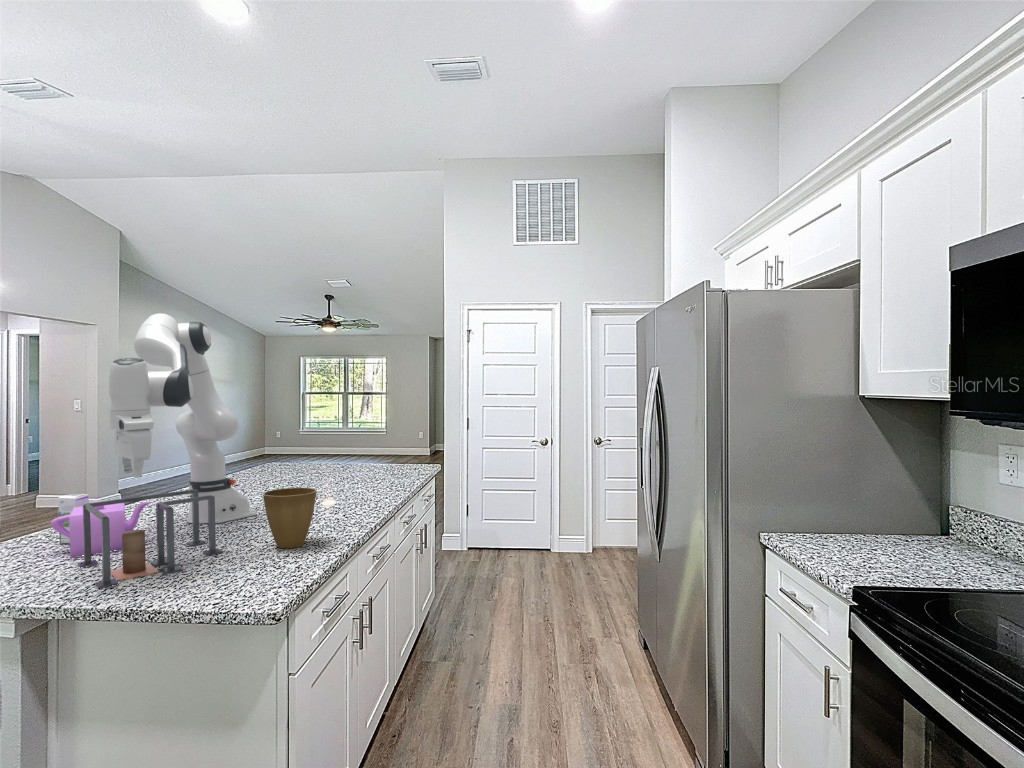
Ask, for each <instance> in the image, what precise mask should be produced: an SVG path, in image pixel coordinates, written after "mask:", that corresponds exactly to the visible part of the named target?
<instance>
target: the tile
mask: <svg viewBox="0 0 1024 768" xmlns="http://www.w3.org/2000/svg"><path fill="white" fill-rule="evenodd" d="M110 570H111V574H112V575H113V576H114V577H115V578H116V579H117V580H118V582H120V581H119V580H122V581H125V580H124V579H127V580H130V579H129V578H131V579H134V578H133V577H136V578H139V577H138V576H141V577H144V575H145V576H149V575H150V576H151V575H153V574H154V573H155V574H159V573H160V570H159V569H158V568H157V567H154V566H153V565H151V563H149V562H146V569H145V570H144V571H142V572H139V573H134V574H124V573H123V567H122V568H117V569H110ZM112 575H111V576H112ZM113 576H112V577H113ZM114 577H113V578H114ZM115 578H114V579H115Z"/></svg>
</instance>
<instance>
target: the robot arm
mask: <svg viewBox="0 0 1024 768" xmlns="http://www.w3.org/2000/svg"><path fill="white" fill-rule="evenodd" d="M133 342H134V345H133V348H134V351H135V353H136V355H137V356H138V357H125V358H117V359H114V360H113V361H112V362H111V364H110V368H109V376H108V393H109V394H108V395H109V397H110V407H109V425H110V426H109V429H110V430H114V453H115V455H117V456H118V457H120V460H121V464H122V471H123V473H124V474H126V475H127V474H132V477H134V478H141V477H142V476H143V467H144V463H145V462H144V461H145V460H146V461H147V460H149V459H150V457H151V454H152V436H153V435H152V429H154V427H155V425H154V424H155V423H154V420H153V419H152V414H151V408H152V407H153V408H154V407H172V408H178V407H179V408H183V406H185V405H186V404H187V406H188V407H189V408H190V409H191V410H187V411H184V412H183V413H181V414H179V416H178V417H177V419H176V421H175V429H176V431H177V433H178V434H179V436H180V437H182V439H183V441H184V444H185V446H186V451H187V452H188V457H189V465H190V480H189V485H188V490H193V489H195V490H198V496H199V497H201V496H208V495H212V496H215V524H221V523H225V522H231V521H236V520H238V519H239V520H240V519H243V518H249V517H252V516H253V517H254V516H257V511H256V509H255V508H251V507H250V503H249V499H248V497H247V496H246V495H244V494H242V493H241V492H239V491H237V490H236V489H234V488H233V487H232V486H235V485H236V483H237V480H236V479H233V478H228V477H226V456H225V455H224V453H223V451H221V450H220V449H219V448H220V447H219V445H218V443H217V442H220V441H226V440H228V439H229V440H230V439H231V438H233V437H235V436H236V434H237V433H238V431H239V427H240V423H239V419H238V417H237V416H236V415H235V414H234V413H233V412H231V410H229V409H228V407H227V406H226V405H225V403H224V402H223V401H222V399H221V397H220V396H219V394H218V391H217V390H216V388H215V385H214V382H213V378H212V375H211V371H210V368H209V365H208V362H207V359H206V357H205V353H206V352H207V351H208V350H209V349H210V347H211V345H212V335H211V332H210V330H209V329H208V326H206V324H204V323H202V321H201V322H200V321H190V322H183V323H178V322H177V320H176V319H175V318H174V317H173V316H171V315H169V314H167V313H154V314H151V315H150V316H149V317H147V318H146V319H145V320H144V321H143V323H142V324H141V325H140V327H139V329H137V333H136V335H135V337H134V341H133ZM147 364H149V365H152V366H160V367H169V368H171V370H156V371H155V370H154V371H152V370H151V371H149V370H148V365H147ZM189 498H192V494H189ZM186 518H187V519H186V522H187V523H190V524H193V520H192V502H189V508H188V514H187V517H186ZM199 524H208V500H202V501H199Z"/></svg>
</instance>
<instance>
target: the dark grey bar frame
mask: <svg viewBox="0 0 1024 768" xmlns="http://www.w3.org/2000/svg"><path fill="white" fill-rule="evenodd" d="M190 494H192V498H191V497H188V498H181V499H180V498H179V499H174V500H168V501H167V500H166V501H159V502H157V503H155V514H156V516H155V517H156V552H157V555H156V556H157V558H156V560H153V561H150V564H151V565H152V566H153V567H155V568H157V566H158V567H162V566H166V567H163V568H159V572H160V573H162V574H163V575H169V574H174V573H178V572H179V573H180V572H182V571H183V568H182V567H181V566H179V565H176V562H175V561H176V560H175V558H176V557H175V556H176V554H175V520H174V519H175V518H174V517H175V516H174V512H175V511H174V508H173V507H172V506H173V505H180V504H189V503H190V502H192V520H193V523H192V540H191V541H186V545H187V546H189V547H192V546H193V547H197V546H202V545H206V543H207V542H206V541H205V540H203V539H200V523H199V501H202V500H208V523H207V525H208V526H207V527H208V528H207V529H208V550H203V551H202V554H203V555H204V556H206V557H211V556H215V555H216V556H217V555H221V554H223V550H222V549H220V548H217V540H216V537H217V535H216V534H217V532H216V523H215V496H212V495H208V496H201V497H199V496H198V490H195V489H193V490H189V489H188V490H178V491H171V492H163V493H157V494H156V493H155V494H149V495H147V494H146V495H142V496H141V495H139V496H135V497H126V498H118V499H111V500H110V499H109V500H103V501H102V502H94V501H93V502H94V503H91V502H89V503H87V504H84V505H83V538H84V556H83V561H80V562H76V563H77V564H76V566H77V567H78V568H79V567H80V568H79V569H82V568H81V567H85V568H87V567H86V566H90V567H92V566H91V565H95V566H98V565H99V562H98V561H97V560H96V559H92V555H91V525H90V512H91V513H92V514H93V515H95V516H96V517H97V518H99V519H100V520H101V536H102V554H101V566H102V567H101V568H102V570H101V571H102V574H101V575H102V581H101V580H100V581H95V583H94V586H95V585H96V586H97V587H98V588H101V589H103V588H102V587H106V588H108V587H107V586H110V587H113V586H112V585H115V586H118V585H119V581H117V580H116V579H115V578H111V576H112V575H111V570H112V569H111V552H110V529H109V518H108V516H106V515H105V514H103V513H102V512H100V511H99V510H97V509H96V508H94V507H96V506H104V505H111V504H118V503H126V504H127V503H132V502H139V501H148V500H154V499H161V498H168V497H177V496H183V495H190ZM164 511H165V515H164ZM164 516H165V517H164ZM164 521H165V522H164ZM165 524H166V526H165ZM165 527H166V529H165ZM165 530H166V537H165ZM165 538H166V551H165ZM165 553H166V555H165ZM165 556H166V558H165ZM97 564H98V565H97ZM117 584H118V585H117ZM96 586H95V587H96ZM97 587H96V588H97ZM98 588H97V589H98Z"/></svg>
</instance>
